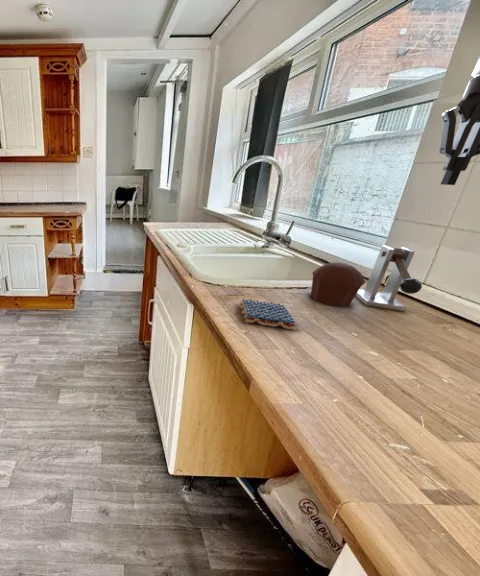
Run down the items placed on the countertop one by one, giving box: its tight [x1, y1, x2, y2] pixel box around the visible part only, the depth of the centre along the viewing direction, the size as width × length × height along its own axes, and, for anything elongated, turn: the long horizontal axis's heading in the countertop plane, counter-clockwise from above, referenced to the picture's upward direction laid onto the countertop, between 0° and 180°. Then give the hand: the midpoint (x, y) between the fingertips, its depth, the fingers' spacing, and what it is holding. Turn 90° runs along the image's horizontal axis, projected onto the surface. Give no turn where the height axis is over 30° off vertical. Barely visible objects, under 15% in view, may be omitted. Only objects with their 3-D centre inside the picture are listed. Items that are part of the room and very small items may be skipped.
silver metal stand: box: [355, 244, 416, 312], centre depth 81 cm, size 10×8×15 cm
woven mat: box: [239, 298, 297, 331], centre depth 71 cm, size 10×11×2 cm
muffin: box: [310, 262, 367, 308], centre depth 81 cm, size 12×11×10 cm
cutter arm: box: [389, 247, 423, 295], centre depth 74 cm, size 15×4×4 cm, turn 158°
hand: (447, 184), depth 78 cm, fingers closed
